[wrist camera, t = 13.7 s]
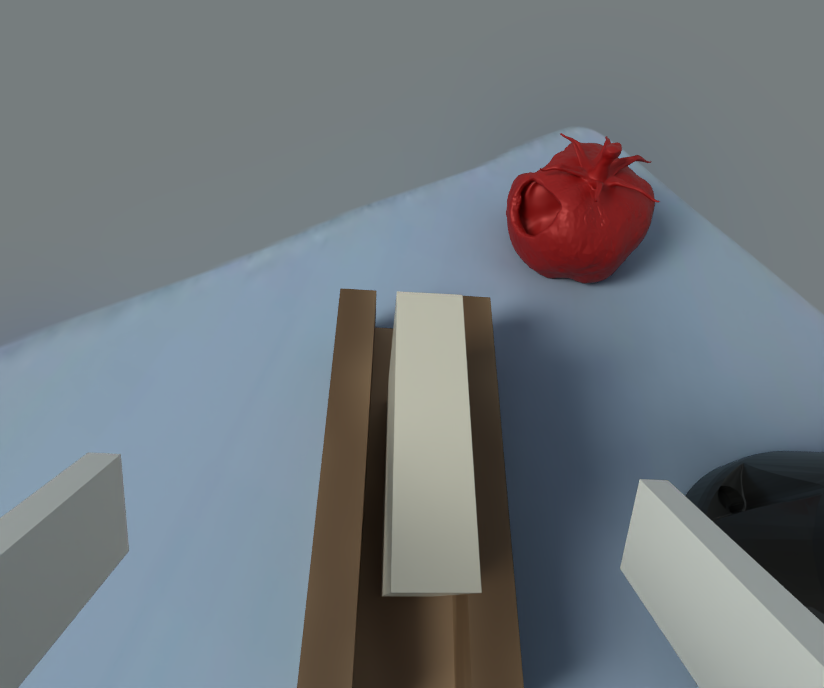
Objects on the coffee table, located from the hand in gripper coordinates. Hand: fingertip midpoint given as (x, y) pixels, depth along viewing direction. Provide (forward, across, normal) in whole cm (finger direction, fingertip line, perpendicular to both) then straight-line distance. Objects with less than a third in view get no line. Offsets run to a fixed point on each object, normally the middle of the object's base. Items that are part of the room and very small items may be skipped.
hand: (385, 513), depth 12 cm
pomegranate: (+26, +13, +7) cm, 29 cm away
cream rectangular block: (+12, +1, -6) cm, 13 cm away
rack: (+12, +1, -7) cm, 14 cm away
